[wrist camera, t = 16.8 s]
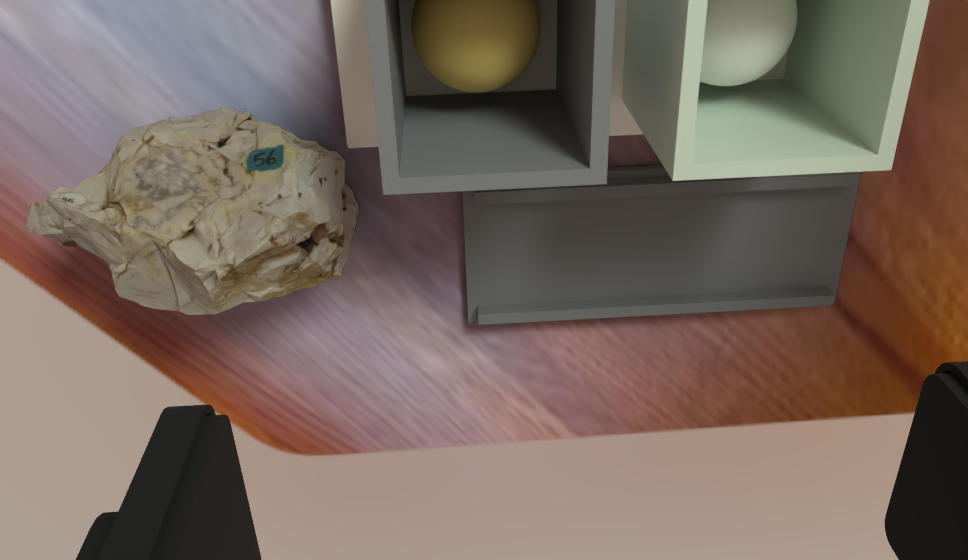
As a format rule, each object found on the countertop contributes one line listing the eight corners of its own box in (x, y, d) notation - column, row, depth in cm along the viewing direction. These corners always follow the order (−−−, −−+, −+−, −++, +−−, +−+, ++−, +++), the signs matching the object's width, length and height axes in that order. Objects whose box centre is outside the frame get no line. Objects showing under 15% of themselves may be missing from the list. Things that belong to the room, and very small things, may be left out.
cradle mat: (859, 155, 40) (871, 165, 39) (830, 298, 44) (840, 311, 43) (461, 174, 40) (462, 185, 39) (467, 318, 44) (468, 332, 43)
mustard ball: (539, -51, 34) (542, -38, 29) (539, 75, 36) (542, 105, 31) (414, -48, 34) (399, -34, 29) (422, 77, 36) (408, 108, 32)
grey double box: (872, -149, 34) (1029, -129, 25) (825, 116, 39) (940, 209, 30) (319, -129, 33) (278, -101, 24) (349, 138, 39) (325, 241, 30)
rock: (393, 119, 37) (286, 235, 29) (379, 241, 41) (282, 372, 33) (145, 45, 39) (-21, 135, 31) (154, 169, 42) (10, 277, 35)
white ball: (789, -60, 34) (824, -35, 30) (770, 64, 36) (801, 103, 32) (662, -57, 34) (679, -33, 30) (653, 65, 37) (667, 104, 32)
